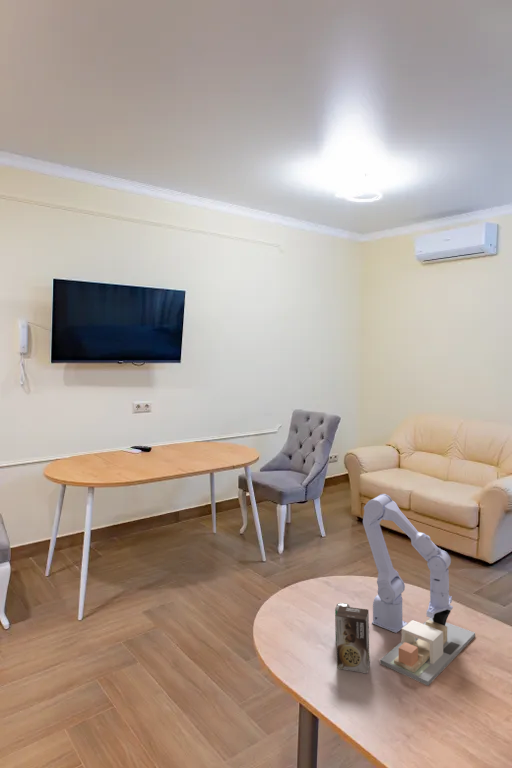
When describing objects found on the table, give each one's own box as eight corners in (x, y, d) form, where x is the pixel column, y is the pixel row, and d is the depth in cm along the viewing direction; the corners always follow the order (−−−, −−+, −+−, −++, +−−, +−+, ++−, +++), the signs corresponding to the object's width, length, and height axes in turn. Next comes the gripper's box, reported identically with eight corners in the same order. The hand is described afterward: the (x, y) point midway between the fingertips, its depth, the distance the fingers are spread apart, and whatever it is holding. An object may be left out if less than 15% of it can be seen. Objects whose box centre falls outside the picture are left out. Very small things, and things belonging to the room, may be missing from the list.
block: (398, 661, 145) (398, 647, 144) (405, 655, 147) (405, 642, 147) (411, 666, 142) (411, 653, 142) (417, 660, 145) (417, 647, 144)
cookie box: (370, 661, 149) (369, 609, 148) (367, 674, 143) (367, 619, 142) (339, 656, 152) (339, 604, 151) (336, 668, 146) (335, 615, 145)
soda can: (351, 647, 156) (350, 610, 156) (335, 646, 157) (334, 609, 157) (351, 638, 161) (351, 602, 161) (335, 637, 162) (335, 601, 162)
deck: (380, 663, 148) (380, 659, 148) (431, 620, 172) (431, 616, 172) (428, 685, 137) (428, 681, 137) (475, 636, 161) (475, 632, 161)
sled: (394, 663, 145) (393, 648, 145) (428, 633, 161) (427, 619, 161) (414, 672, 141) (414, 656, 140) (447, 640, 156) (447, 626, 156)
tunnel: (401, 650, 152) (401, 628, 152) (412, 641, 157) (412, 619, 157) (433, 664, 145) (432, 640, 145) (443, 654, 150) (443, 631, 150)
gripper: (441, 601, 151) (442, 645, 152) (461, 586, 161) (461, 626, 162) (420, 594, 156) (420, 636, 157) (440, 579, 166) (440, 619, 167)
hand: (439, 631), depth 160 cm, fingers closed
